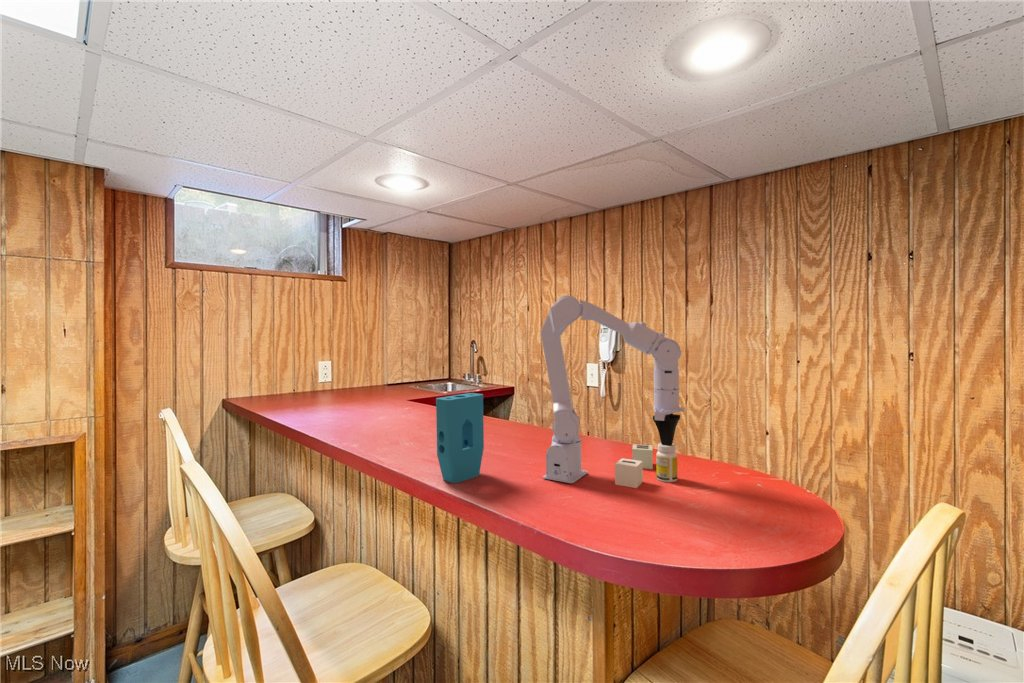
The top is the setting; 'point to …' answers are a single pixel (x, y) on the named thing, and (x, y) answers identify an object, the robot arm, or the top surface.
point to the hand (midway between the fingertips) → (666, 445)
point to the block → (460, 436)
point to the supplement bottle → (666, 463)
